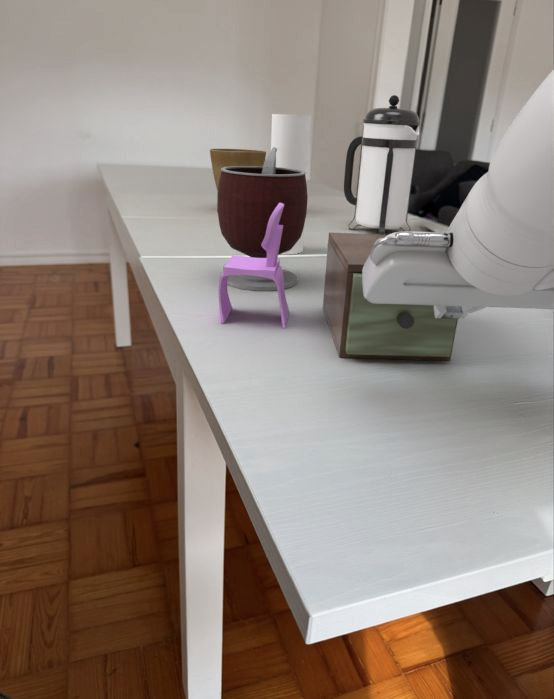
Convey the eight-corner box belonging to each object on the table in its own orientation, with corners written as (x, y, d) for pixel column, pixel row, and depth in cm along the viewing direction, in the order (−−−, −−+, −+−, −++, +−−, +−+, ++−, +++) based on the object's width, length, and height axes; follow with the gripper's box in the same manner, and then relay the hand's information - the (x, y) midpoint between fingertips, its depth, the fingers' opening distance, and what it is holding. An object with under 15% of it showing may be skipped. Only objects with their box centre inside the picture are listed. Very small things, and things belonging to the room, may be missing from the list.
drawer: (453, 361, 60) (468, 283, 56) (348, 358, 59) (356, 279, 56) (413, 310, 75) (422, 246, 72) (329, 308, 75) (335, 243, 71)
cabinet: (450, 360, 63) (467, 268, 58) (339, 357, 62) (348, 264, 58) (412, 311, 78) (423, 235, 74) (322, 309, 77) (328, 232, 73)
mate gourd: (295, 296, 82) (303, 155, 74) (206, 287, 84) (205, 149, 76) (308, 270, 96) (317, 149, 88) (231, 263, 98) (233, 144, 91)
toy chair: (227, 305, 77) (228, 195, 71) (289, 310, 76) (296, 199, 70) (215, 325, 69) (215, 204, 63) (284, 331, 69) (291, 209, 63)
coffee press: (408, 227, 140) (426, 98, 128) (411, 239, 125) (431, 95, 114) (340, 222, 142) (351, 95, 131) (335, 233, 128) (348, 91, 116)
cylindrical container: (276, 244, 114) (282, 114, 104) (308, 249, 111) (317, 115, 102) (260, 251, 108) (265, 113, 98) (293, 256, 105) (301, 115, 96)
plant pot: (275, 213, 151) (278, 151, 145) (235, 218, 141) (236, 152, 135) (238, 205, 160) (239, 147, 154) (198, 209, 150) (197, 147, 144)
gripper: (381, 268, 43) (349, 337, 55) (636, 277, 44) (547, 343, 56) (376, 200, 45) (347, 282, 58) (618, 210, 46) (536, 288, 59)
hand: (447, 312), depth 57 cm, fingers closed
